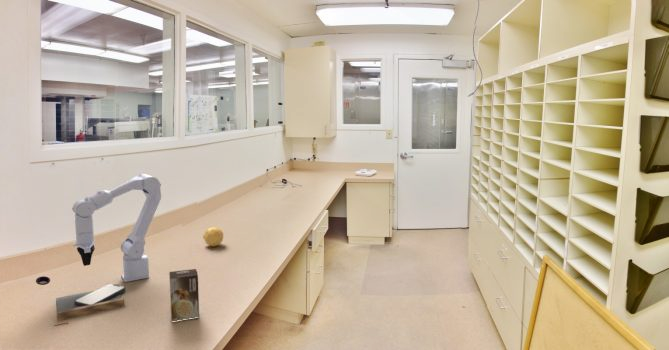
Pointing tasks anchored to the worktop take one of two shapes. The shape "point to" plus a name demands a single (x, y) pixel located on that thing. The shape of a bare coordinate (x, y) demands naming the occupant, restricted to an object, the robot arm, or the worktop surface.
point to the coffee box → (184, 294)
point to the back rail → (90, 308)
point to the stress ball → (213, 236)
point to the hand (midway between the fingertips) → (86, 264)
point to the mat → (68, 301)
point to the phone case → (100, 295)
